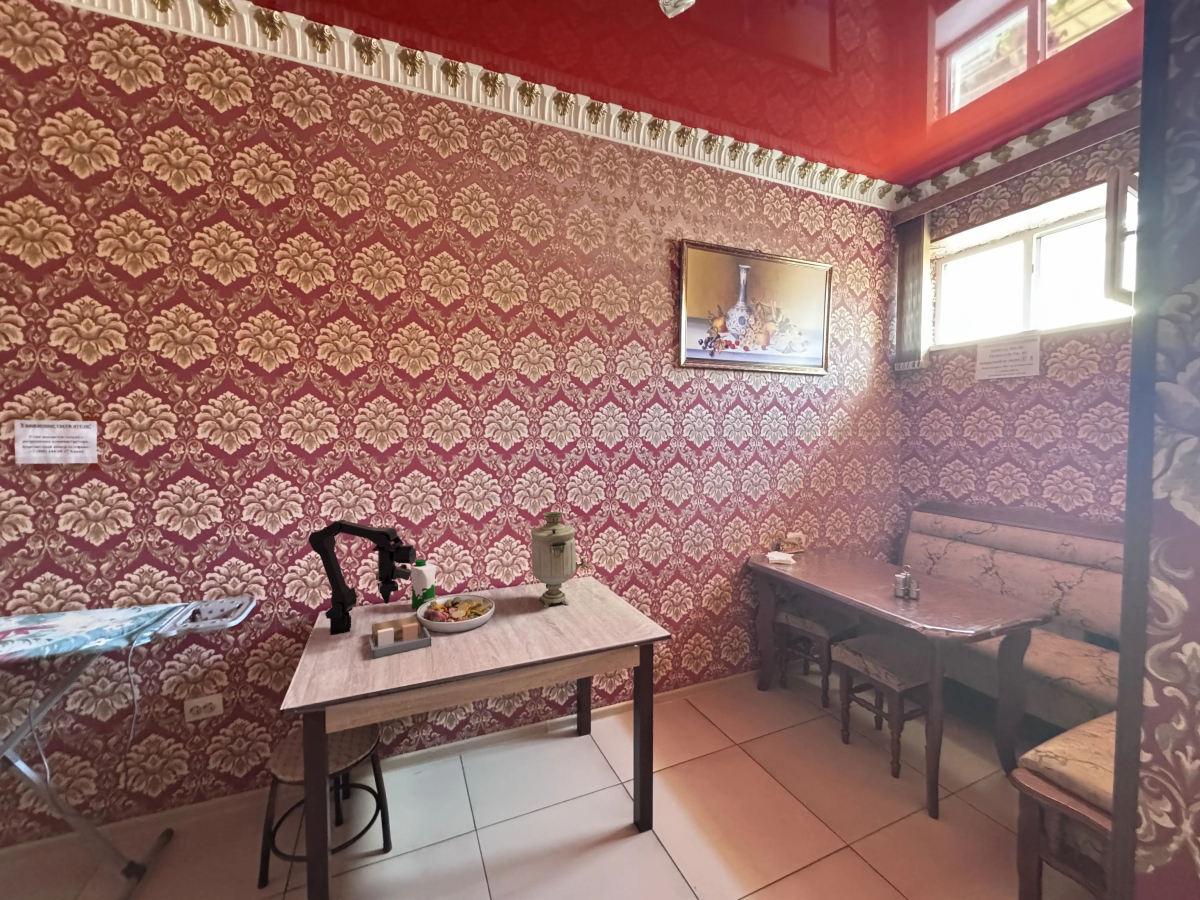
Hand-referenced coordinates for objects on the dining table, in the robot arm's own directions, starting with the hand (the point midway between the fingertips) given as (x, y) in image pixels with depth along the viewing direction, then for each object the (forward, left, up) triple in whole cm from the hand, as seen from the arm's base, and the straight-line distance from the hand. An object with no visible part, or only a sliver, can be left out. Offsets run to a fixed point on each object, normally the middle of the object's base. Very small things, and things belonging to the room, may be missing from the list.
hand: (386, 603), depth 176 cm
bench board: (+3, -4, -11) cm, 12 cm away
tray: (+3, -14, -11) cm, 18 cm away
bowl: (+26, 0, -12) cm, 28 cm away
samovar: (+70, -5, -11) cm, 71 cm away
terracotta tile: (+6, -10, -8) cm, 14 cm away
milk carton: (+17, +18, -11) cm, 28 cm away
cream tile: (-2, -10, -8) cm, 13 cm away
